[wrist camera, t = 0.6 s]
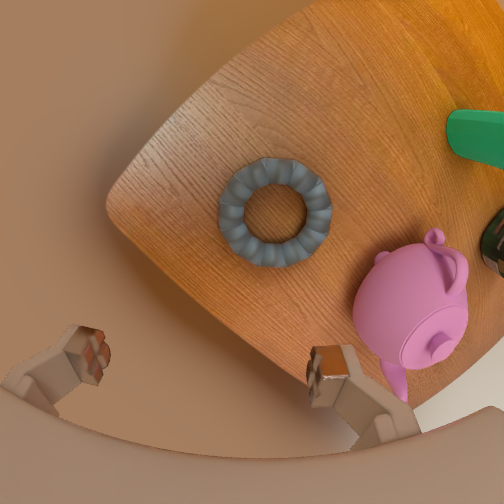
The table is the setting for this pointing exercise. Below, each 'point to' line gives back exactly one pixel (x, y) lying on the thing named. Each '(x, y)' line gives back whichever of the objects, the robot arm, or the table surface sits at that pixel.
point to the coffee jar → (494, 244)
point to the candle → (477, 135)
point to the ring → (257, 178)
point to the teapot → (413, 307)
